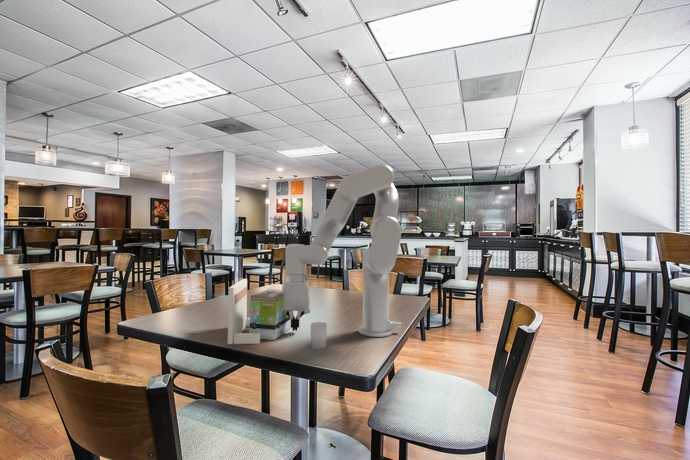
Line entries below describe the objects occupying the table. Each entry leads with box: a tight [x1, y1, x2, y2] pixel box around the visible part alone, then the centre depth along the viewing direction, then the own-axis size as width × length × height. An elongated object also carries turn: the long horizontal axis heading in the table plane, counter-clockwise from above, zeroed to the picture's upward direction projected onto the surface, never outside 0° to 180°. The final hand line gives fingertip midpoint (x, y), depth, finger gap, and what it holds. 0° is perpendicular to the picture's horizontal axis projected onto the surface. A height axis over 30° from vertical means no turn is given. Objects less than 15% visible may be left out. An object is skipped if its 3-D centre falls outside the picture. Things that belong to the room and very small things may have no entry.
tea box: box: [248, 288, 292, 341], centre depth 116 cm, size 15×10×15 cm, turn 169°
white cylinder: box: [310, 321, 328, 350], centre depth 103 cm, size 5×5×7 cm
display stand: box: [227, 278, 261, 345], centre depth 115 cm, size 10×21×18 cm, turn 5°
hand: (294, 329), depth 116 cm, fingers closed
